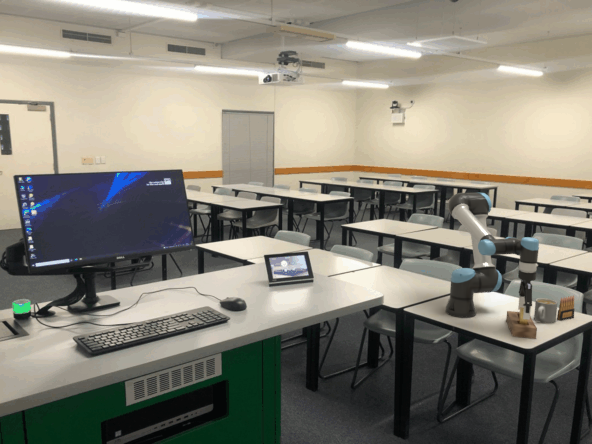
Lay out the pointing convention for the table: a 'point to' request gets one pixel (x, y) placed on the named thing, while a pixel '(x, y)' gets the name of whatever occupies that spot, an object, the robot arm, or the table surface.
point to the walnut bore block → (520, 326)
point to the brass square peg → (521, 320)
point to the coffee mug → (545, 310)
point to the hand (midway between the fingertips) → (523, 314)
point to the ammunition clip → (566, 308)
